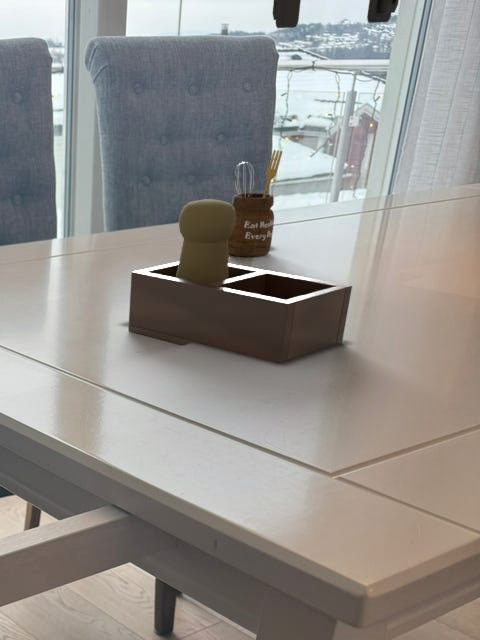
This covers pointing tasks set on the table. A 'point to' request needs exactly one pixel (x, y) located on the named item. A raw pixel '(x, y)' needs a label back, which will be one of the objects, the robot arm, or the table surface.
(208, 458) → the table surface
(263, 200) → the utensil holder
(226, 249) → the cork
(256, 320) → the holder
